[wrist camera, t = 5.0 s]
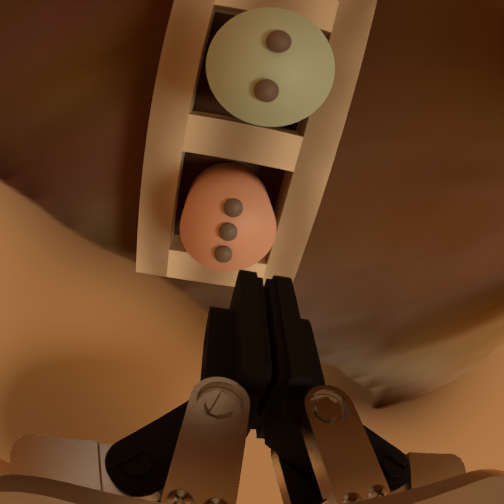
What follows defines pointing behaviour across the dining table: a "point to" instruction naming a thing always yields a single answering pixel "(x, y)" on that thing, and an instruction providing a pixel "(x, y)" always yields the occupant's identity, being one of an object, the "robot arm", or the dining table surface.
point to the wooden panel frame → (242, 136)
